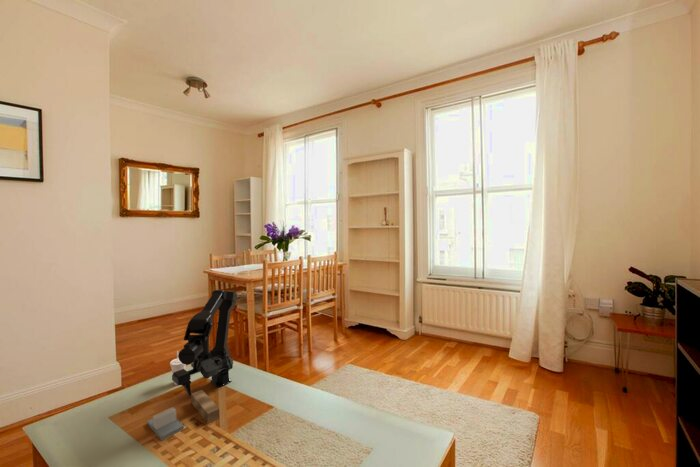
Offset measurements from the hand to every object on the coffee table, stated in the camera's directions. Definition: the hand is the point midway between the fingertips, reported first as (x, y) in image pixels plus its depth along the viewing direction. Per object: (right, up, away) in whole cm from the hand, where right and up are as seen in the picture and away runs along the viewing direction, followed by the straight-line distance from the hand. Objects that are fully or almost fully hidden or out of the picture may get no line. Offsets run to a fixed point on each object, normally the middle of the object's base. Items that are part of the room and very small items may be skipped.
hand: (202, 390), depth 120 cm
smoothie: (-18, -5, +17) cm, 25 cm away
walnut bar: (+1, -7, -1) cm, 8 cm away
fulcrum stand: (-8, -8, -10) cm, 15 cm away
